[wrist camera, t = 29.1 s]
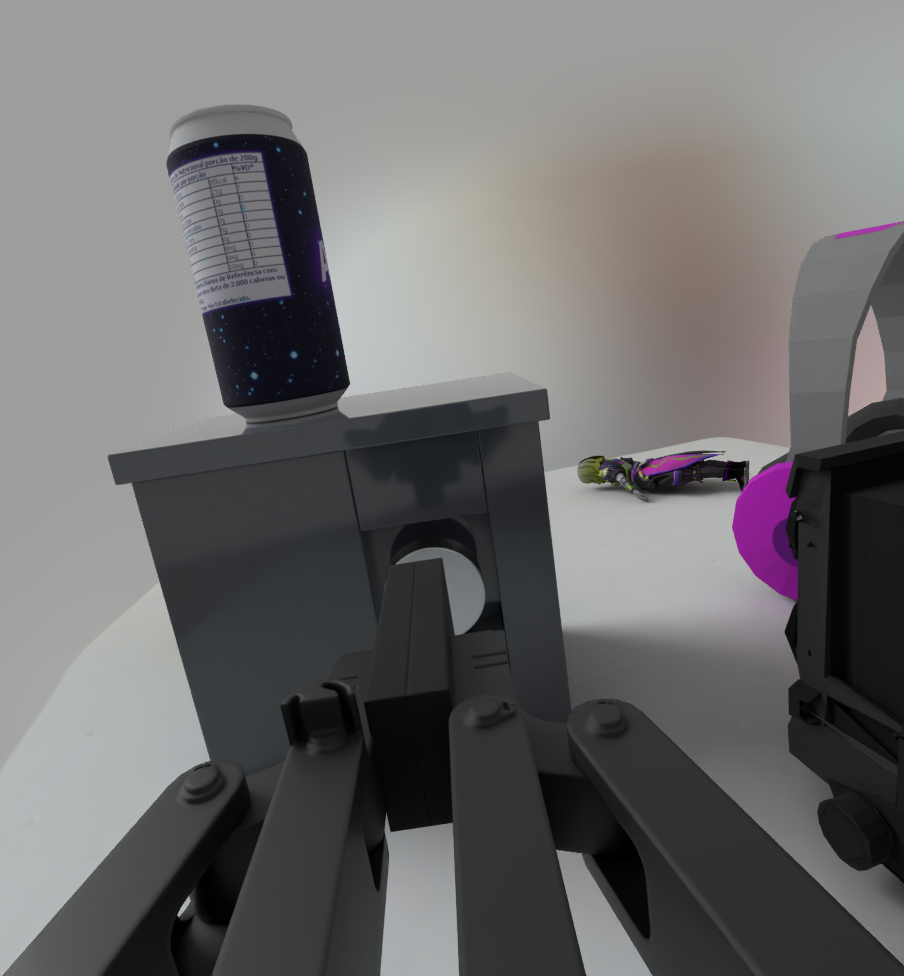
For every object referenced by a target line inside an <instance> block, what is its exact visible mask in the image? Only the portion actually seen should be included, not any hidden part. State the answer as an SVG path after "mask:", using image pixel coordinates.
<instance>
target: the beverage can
mask: <svg viewBox="0 0 904 976" xmlns="http://www.w3.org/2000/svg"><path fill="white" fill-rule="evenodd" d="M169 134H170V137H171V139H172V142H171V146H170V150H169V155H168V159H167V169H168V174H169V178H170V182H171V186H172V190H173V194H174V198H175V202H176V207H177V211H178V215H179V219H180V223H181V228H182V232H183V236H184V240H185V245H186V248H187V253H188V257H189V261H190V265H191V270H192V274H193V278H194V282H195V286H196V290H197V295H198V299H199V303H200V307H201V311H202V315H203V319H204V324H205V328H206V332H207V336H208V340H209V345H210V349H211V353H212V357H213V361H214V365H215V370H216V374H217V378H218V382H219V386H220V390H221V395H222V399H223V403H224V405H225V406H226V407H228V408H229V409H231V410H232V411H234V412H236V413H237V414H239V415H240V416H242V417H244V418H245V421H246V422H248V423H259V422H268V421H276V420H283V419H289V418H295V417H300V416H305V415H310V414H315V413H319V412H323V411H327V410H330V409H333V408H336V407H337V406H338V400H339V399H340V398H341V396H342V395H343V394H344V392H345V391H346V389H347V388H348V386H349V385H350V381H349V376H348V371H347V365H346V360H345V355H344V349H343V344H342V339H341V334H340V328H339V323H338V317H337V313H336V307H335V302H334V296H333V291H332V286H331V280H330V275H329V270H328V264H327V259H326V254H325V248H324V243H323V238H322V232H321V228H320V221H319V216H318V212H317V206H316V200H315V195H314V189H313V184H312V179H311V174H310V169H309V163H308V158H307V153H306V151H305V150H304V148H303V147H302V145H301V144H300V142H299V141H298V140H297V138H296V137H295V135H294V133H293V132H292V123H291V121H290V119H289V118H288V117H287V116H286V115H284V114H283V113H281V112H279V111H276V110H274V109H270V108H266V107H261V106H253V105H221V106H213V107H207V108H202V109H198V110H194V111H191V112H188V113H186V114H183V115H182V116H180V117H178V118H177V119H175V120H174V121H173V122H172V123H171V125H170V127H169Z"/></svg>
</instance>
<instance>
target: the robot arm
mask: <svg viewBox="0 0 904 976" xmlns="http://www.w3.org/2000/svg"><path fill="white" fill-rule="evenodd" d="M280 707H281V711H282V715H283V719H284V723H285V727H286V731H287V735H288V739H289V743H290V748H289V750H288V753H287V756H286V759H285V760H284V761H282V762H281V763H279V764H277V765H274V766H272V767H270V768H267V769H265V770H262V771H259V772H257V773H254V774H251V775H248V776H246V777H245V774H244V770H243V767H242V766H241V765H240V764H239V763H238V762H236V761H232V760H227V759H222V760H214V761H209V762H205V763H204V764H200V765H197V766H195V767H193V768H192V769H190V770H188V771H187V772H185V773H183V774H182V775H180V776H179V777H178V778H177V779H176V780H175V781H173V782H172V783H171V784H170V785H169V786H168V787H167V788H166V789H165V791H164V792H163V793H162V794H161V795H160V796H159V797H158V799H157V800H156V801H155V802H154V803H153V804H152V805H151V807H150V808H149V809H148V810H147V811H146V812H145V813H144V815H143V816H142V817H141V818H140V819H139V820H138V821H137V823H136V824H135V825H134V826H133V827H132V828H131V829H130V831H129V832H128V833H127V834H126V835H125V836H124V837H123V839H122V840H121V841H120V842H119V843H118V844H117V845H116V847H115V848H114V849H113V850H112V851H111V852H110V853H109V855H108V856H107V857H106V858H105V859H104V860H103V861H102V863H101V864H100V865H99V866H98V867H97V868H96V869H95V871H94V872H93V873H92V874H91V875H90V876H89V877H88V879H87V880H86V881H85V882H84V883H83V884H82V885H81V887H80V888H79V889H78V890H77V891H76V892H75V893H74V895H73V896H72V897H71V898H70V899H69V900H68V901H67V903H66V904H65V905H64V906H63V907H62V908H61V909H60V911H59V912H58V913H57V914H56V915H55V916H54V917H53V919H52V920H51V921H50V922H49V923H48V924H47V925H46V927H45V928H44V929H43V930H42V931H41V932H40V933H39V935H38V936H37V937H36V938H35V939H34V940H33V941H32V943H31V944H30V945H29V946H28V947H27V948H26V949H25V951H24V952H23V953H22V954H21V955H20V956H19V957H18V959H17V960H16V961H15V962H14V963H13V964H12V965H11V967H10V968H9V969H8V970H7V971H6V972H5V973H4V975H3V976H380V968H381V955H382V942H383V929H384V916H385V903H386V891H387V878H388V865H389V851H388V845H387V841H386V836H385V831H384V829H385V819H386V812H387V817H388V822H389V826H390V831H391V832H394V831H401V830H407V829H414V828H420V827H427V826H433V825H440V824H447V823H453V836H454V860H455V884H456V908H457V932H458V956H459V976H586V973H585V969H584V965H583V961H582V957H581V953H580V948H579V944H578V940H577V936H576V932H575V928H574V923H573V919H572V915H571V911H570V907H569V903H568V898H567V894H566V890H565V886H564V882H563V878H562V873H561V869H560V865H559V861H558V857H557V853H556V850H562V851H570V852H577V853H582V856H583V859H584V862H585V864H586V866H587V868H588V870H589V871H590V873H591V875H592V876H593V878H594V880H595V881H596V883H597V884H598V886H599V888H600V889H601V891H602V893H603V894H604V896H605V898H606V899H607V901H608V903H609V904H610V906H611V908H612V909H613V911H614V913H615V914H616V916H617V918H618V919H619V921H620V922H621V924H622V926H623V927H624V929H625V931H626V932H627V934H628V936H629V937H630V939H631V941H632V942H633V944H634V946H635V947H636V949H637V951H638V952H639V954H640V955H641V957H642V959H643V960H644V962H645V964H646V965H647V967H648V969H649V970H650V972H651V974H652V975H653V976H904V965H903V964H902V963H901V962H900V961H898V960H897V959H896V958H895V957H894V956H893V955H892V954H891V953H890V952H889V951H888V950H887V949H886V948H885V947H884V946H883V945H882V944H881V943H880V942H879V941H878V940H877V939H876V938H875V937H874V936H873V935H872V934H871V933H870V932H869V931H868V930H867V929H865V928H864V927H863V926H862V925H861V924H860V923H859V922H858V921H857V920H856V919H855V918H854V917H853V916H852V915H851V914H850V913H849V912H848V911H847V910H846V909H845V908H844V907H843V906H842V905H841V904H840V903H839V902H838V901H837V900H836V899H835V898H834V897H833V896H831V895H830V894H829V893H828V892H827V891H826V890H825V889H824V888H823V887H822V886H821V885H820V884H819V883H818V882H817V881H816V880H815V879H814V878H813V877H812V876H811V875H810V874H809V873H808V872H807V871H806V870H805V869H804V868H803V867H802V866H801V865H800V864H799V863H797V862H796V861H795V860H794V859H793V858H792V857H791V856H790V855H789V854H788V853H787V852H786V851H785V850H784V849H783V848H782V847H781V846H780V845H779V844H778V843H777V842H776V841H775V840H774V839H773V838H772V837H771V836H770V835H769V834H768V833H767V832H766V831H765V830H763V829H762V828H761V827H760V826H759V825H758V824H757V823H756V822H755V821H754V820H753V819H752V818H751V817H750V816H749V815H748V814H747V813H746V812H745V811H744V810H743V809H742V808H741V807H740V806H739V805H738V804H737V803H736V802H735V801H734V800H733V799H732V798H731V797H729V796H728V795H727V794H726V793H725V792H724V791H723V790H722V789H721V788H720V787H719V786H718V785H717V784H716V783H715V782H714V781H713V780H712V779H711V778H710V777H709V776H708V775H707V774H706V773H705V772H704V771H703V770H702V769H701V768H700V767H699V766H698V765H696V764H695V763H694V762H693V761H692V760H691V759H690V758H689V757H688V756H687V755H686V754H685V753H684V752H683V751H682V750H681V749H680V748H679V747H678V746H677V745H676V744H675V743H674V742H673V741H672V740H671V739H670V738H669V737H668V736H667V735H666V734H665V733H664V732H662V731H661V730H660V729H659V728H658V727H657V726H656V725H655V724H654V723H653V722H652V721H651V720H650V719H649V718H648V717H647V716H646V715H645V714H644V713H643V712H642V711H641V710H639V709H638V708H636V707H635V706H633V705H632V704H629V703H626V702H623V701H619V700H612V699H599V700H593V701H588V702H585V703H583V704H581V705H579V706H577V707H575V708H574V710H573V711H572V712H571V713H570V714H569V715H568V718H567V723H559V722H550V721H544V720H540V719H537V718H534V717H532V716H531V715H529V714H527V713H526V712H525V711H524V710H523V709H522V708H521V707H520V705H519V703H518V701H517V696H516V692H515V688H514V684H513V680H512V675H511V671H510V667H509V663H508V659H507V654H506V650H505V646H504V642H503V639H502V638H501V637H500V636H499V635H497V634H496V633H495V632H494V631H492V630H486V631H480V632H473V633H467V634H460V635H455V633H454V626H453V620H452V614H451V608H450V602H449V596H448V590H447V584H446V578H445V572H444V565H443V559H442V557H441V558H435V559H428V560H422V561H415V562H409V563H402V564H396V565H389V567H388V573H387V578H386V583H385V589H384V594H383V600H382V605H381V611H380V616H379V621H378V627H377V632H376V638H375V643H374V648H373V650H367V651H360V652H354V653H347V654H342V655H341V656H340V657H339V658H338V659H337V660H336V661H335V662H334V663H333V664H332V665H331V666H330V667H329V670H328V673H327V676H326V679H322V680H318V681H314V682H310V683H308V684H306V685H304V686H301V687H299V688H297V689H296V690H294V691H293V692H292V693H290V694H289V695H288V696H286V698H285V699H284V700H283V702H282V703H281V705H280ZM188 896H189V897H190V900H191V902H190V904H189V905H188V907H187V908H186V910H185V911H184V912H183V913H182V914H181V915H180V917H178V916H177V914H178V912H179V910H180V908H181V907H182V905H183V904H184V902H185V901H186V899H187V898H188Z"/></svg>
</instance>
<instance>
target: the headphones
mask: <svg viewBox="0 0 904 976" xmlns="http://www.w3.org/2000/svg"><path fill="white" fill-rule="evenodd" d="M870 305H871V306H872V308H873V311H874V314H875V317H876V321H877V325H878V329H879V333H880V337H881V341H882V345H883V349H884V355H885V369H886V370H885V371H886V386H887V392H886V394H885V396H884V399H883V401H881V402H875V403H871V404H870V405H868V406H866V407H864V408H863V409H861V410H859V411H857V412H856V413H854V414H852V415H850V416H849V417H848V407H849V396H850V388H851V380H852V372H853V365H854V358H855V350H856V343H857V339H858V336H859V334H860V331H861V329H862V326H863V323H864V321H865V318H866V316H867V313H868V310H869V307H870ZM789 381H790V382H789V383H790V426H791V427H790V429H791V448H790V451H789V453H787V454H785V455H783V456H781V457H780V458H778V459H776V460H774V461H773V462H771V463H769V464H767V465H766V466H764V467H762V469H761V470H760V472H759V473H758V474H757V475H756V476H754V477H752V479H751V480H750V482H749V483H748V484H747V486H746V487H745V489H744V490H743V491H742V493H741V494H740V496H739V497H738V499H737V502H736V507H735V513H734V520H733V526H732V529H733V532H734V536H735V540H736V543H737V547H738V550H739V553H740V555H741V556H742V557H743V559H744V560H745V562H746V563H747V564H748V566H749V567H750V569H751V570H752V571H753V573H754V574H755V576H757V577H758V578H759V579H761V580H762V581H763V582H765V583H766V584H767V585H769V586H770V587H771V588H773V589H774V590H775V591H777V592H778V593H779V594H781V595H784V596H787V597H789V598H792V599H795V600H797V601H798V560H796V559H794V556H793V553H792V550H791V548H790V547H789V540H788V537H787V534H786V530H785V528H786V524H787V520H788V516H789V512H790V508H791V504H792V502H793V501H794V499H795V498H796V497H794V498H790V499H789V497H788V495H787V493H786V491H785V490H786V486H787V482H788V479H789V475H790V471H791V467H792V464H793V460H794V456H795V454H799V453H803V452H808V451H813V450H817V449H822V448H827V447H831V446H836V445H841V444H845V443H850V442H854V441H859V440H864V439H868V438H873V437H878V436H882V435H887V434H891V433H896V432H901V431H904V221H903V222H898V223H893V224H888V225H882V226H877V227H872V228H866V229H861V230H856V231H850V232H845V233H841V234H837V235H832V236H826V237H824V238H822V239H820V240H819V241H817V242H815V243H813V244H812V246H811V248H810V249H809V251H808V253H807V255H806V257H805V259H804V260H803V262H802V264H801V267H800V271H799V275H798V279H797V283H796V287H795V291H794V296H793V302H792V313H791V324H790V335H789Z"/></svg>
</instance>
